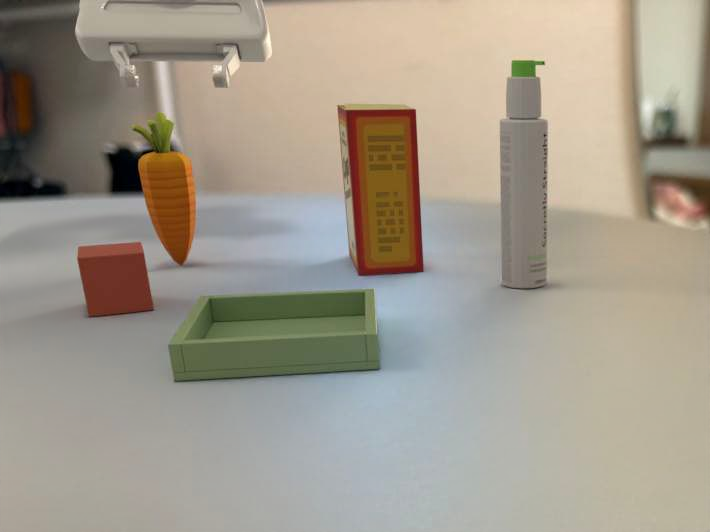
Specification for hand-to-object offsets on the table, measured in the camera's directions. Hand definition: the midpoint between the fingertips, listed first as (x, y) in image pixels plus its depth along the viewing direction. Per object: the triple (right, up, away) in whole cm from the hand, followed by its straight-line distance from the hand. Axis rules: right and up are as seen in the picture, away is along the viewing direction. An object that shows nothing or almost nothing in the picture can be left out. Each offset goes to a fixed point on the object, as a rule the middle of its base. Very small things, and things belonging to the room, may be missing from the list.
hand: (175, 83), depth 92 cm
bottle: (+38, -23, -10) cm, 46 cm away
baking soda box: (+23, -20, -3) cm, 31 cm away
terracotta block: (+3, -26, -19) cm, 32 cm away
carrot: (+2, -20, -4) cm, 21 cm away
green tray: (+21, -31, -29) cm, 47 cm away
